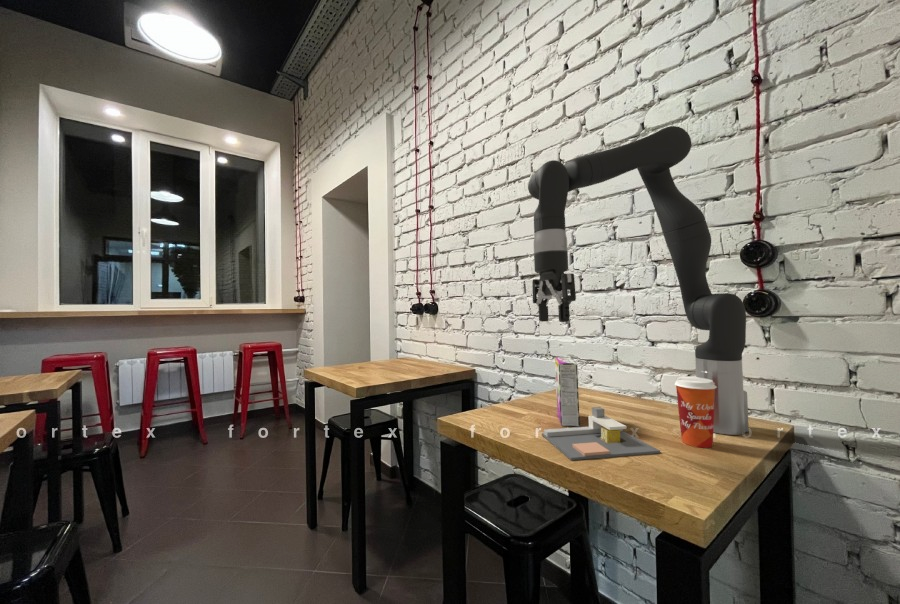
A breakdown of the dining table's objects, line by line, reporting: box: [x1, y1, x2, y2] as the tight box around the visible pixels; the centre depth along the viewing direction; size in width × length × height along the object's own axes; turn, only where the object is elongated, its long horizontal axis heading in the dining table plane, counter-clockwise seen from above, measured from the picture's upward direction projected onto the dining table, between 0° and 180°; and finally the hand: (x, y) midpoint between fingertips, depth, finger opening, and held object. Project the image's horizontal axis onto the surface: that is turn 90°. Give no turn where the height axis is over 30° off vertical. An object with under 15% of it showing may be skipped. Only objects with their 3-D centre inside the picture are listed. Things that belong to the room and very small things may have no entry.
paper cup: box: [673, 376, 717, 449], centre depth 78 cm, size 8×8×14 cm
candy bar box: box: [554, 356, 581, 428], centre depth 96 cm, size 11×5×16 cm, turn 168°
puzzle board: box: [541, 426, 661, 461], centre depth 79 cm, size 20×15×2 cm
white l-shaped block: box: [588, 406, 627, 430], centre depth 82 cm, size 4×9×5 cm, turn 8°
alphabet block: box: [600, 426, 621, 443], centre depth 81 cm, size 3×3×3 cm
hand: (553, 321), depth 82 cm, fingers open, 8 cm apart
